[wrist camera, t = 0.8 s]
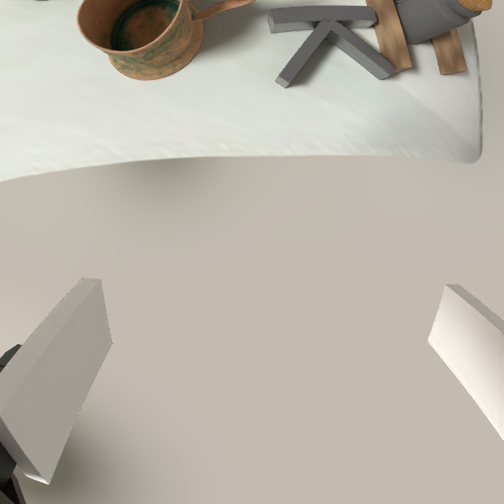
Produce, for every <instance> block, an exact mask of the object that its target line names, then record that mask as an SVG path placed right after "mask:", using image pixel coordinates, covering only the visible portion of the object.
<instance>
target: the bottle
mask: <svg viewBox="0 0 504 504" xmlns="http://www.w3.org/2000/svg"><path fill="white" fill-rule="evenodd" d="M491 6H492V0H402V1H400V2H399V3H398V4H396V5H395V8H396V11H397V14H398V17H399V20H400V24H401V27H402V30H403V34H404V37H405V41H406V43H408V44H418V43H421V42H423V41H425V40H428V39H430V38H433V37H435V36H437V35H440V34H442V33H445V32H447V31H449V30H452V29H454V28H457V27H459V26H462V25H464V24H466V23H467V22H468V21H469V20H470V18H473V17H476V16H478V15H480V14H481V12H482V11H485V10H489V9H490V8H491Z"/></svg>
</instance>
